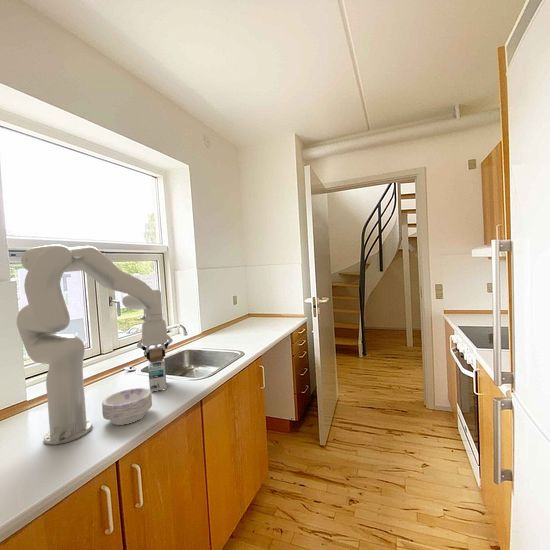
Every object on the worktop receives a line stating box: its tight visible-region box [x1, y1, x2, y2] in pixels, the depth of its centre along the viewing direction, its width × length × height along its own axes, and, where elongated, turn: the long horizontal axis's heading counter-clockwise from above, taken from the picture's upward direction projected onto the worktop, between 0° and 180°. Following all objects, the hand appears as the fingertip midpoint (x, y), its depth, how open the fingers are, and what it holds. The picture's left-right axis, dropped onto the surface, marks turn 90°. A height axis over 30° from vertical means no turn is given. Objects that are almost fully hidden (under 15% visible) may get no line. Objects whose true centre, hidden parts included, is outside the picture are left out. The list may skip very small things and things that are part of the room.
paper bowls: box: [101, 387, 153, 426], centre depth 100 cm, size 15×15×8 cm
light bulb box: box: [147, 358, 167, 393], centre depth 127 cm, size 11×7×11 cm, turn 22°
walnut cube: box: [149, 346, 163, 363], centre depth 126 cm, size 5×5×5 cm
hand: (156, 359), depth 126 cm, fingers closed on walnut cube, 4 cm apart
